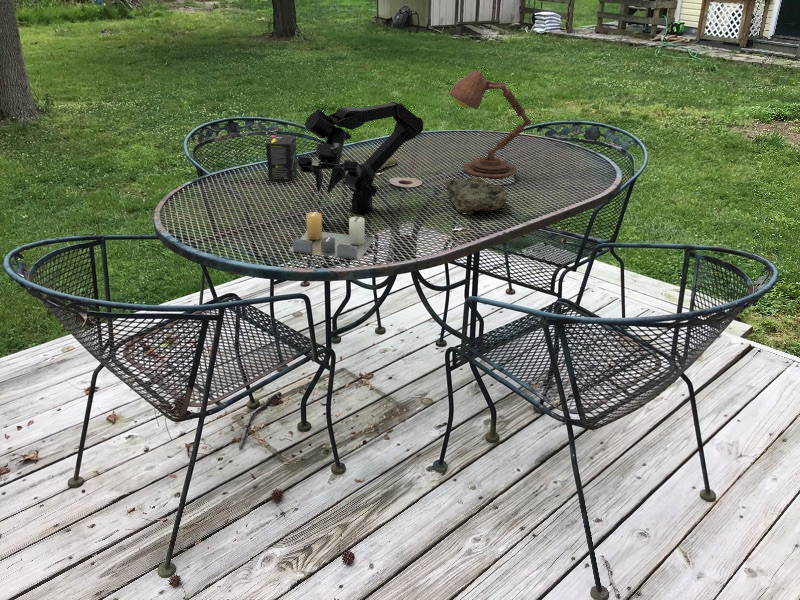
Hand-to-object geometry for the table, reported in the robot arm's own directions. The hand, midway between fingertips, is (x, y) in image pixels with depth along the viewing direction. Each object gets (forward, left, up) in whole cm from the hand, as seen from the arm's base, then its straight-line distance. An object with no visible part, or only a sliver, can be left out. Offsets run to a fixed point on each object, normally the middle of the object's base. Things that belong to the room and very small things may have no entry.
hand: (323, 191), depth 194 cm
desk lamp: (-81, +2, -13) cm, 82 cm away
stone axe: (-50, -34, -13) cm, 62 cm away
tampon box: (-24, -51, -13) cm, 57 cm away
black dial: (+10, +13, -11) cm, 20 cm away
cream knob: (+1, +15, -11) cm, 19 cm away
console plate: (+7, +11, -13) cm, 18 cm away
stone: (-53, +19, -13) cm, 58 cm away
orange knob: (+7, +4, -11) cm, 14 cm away
